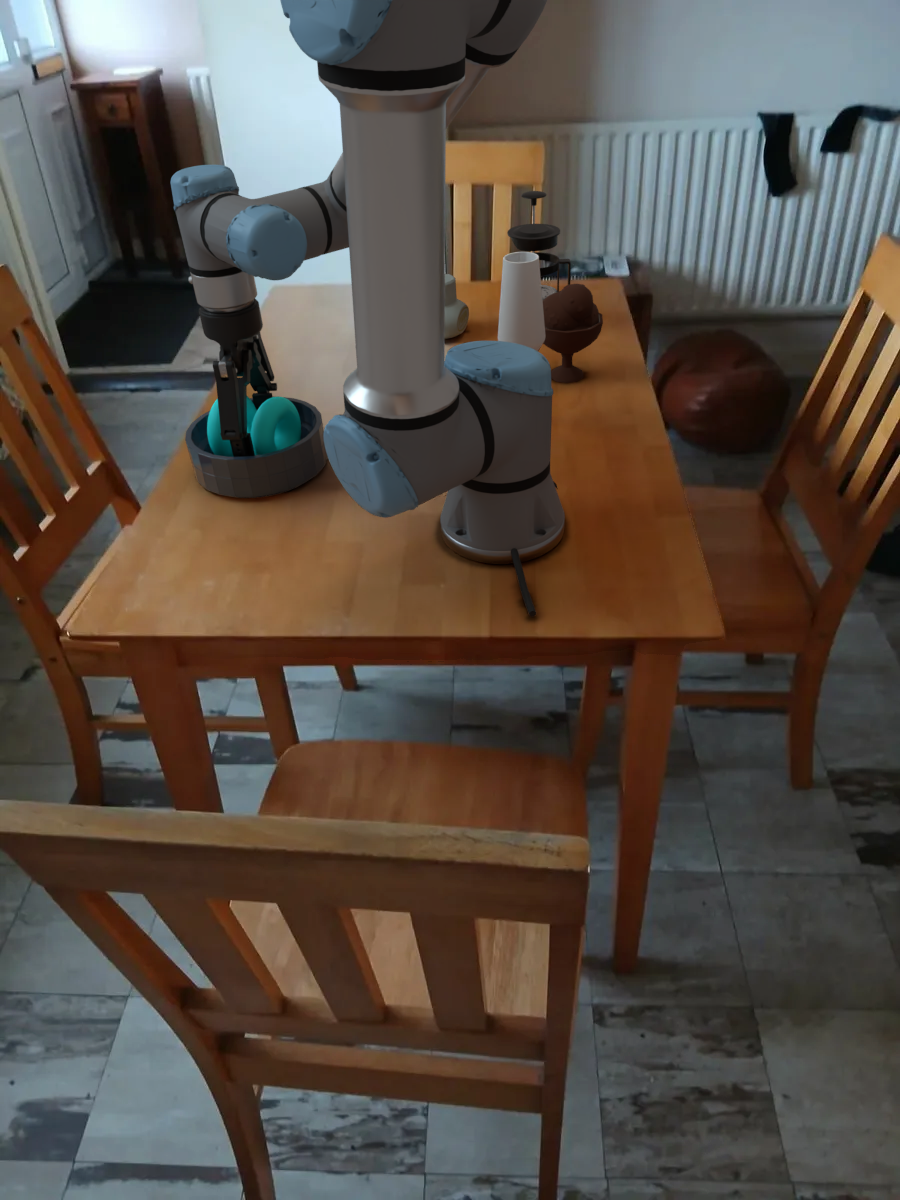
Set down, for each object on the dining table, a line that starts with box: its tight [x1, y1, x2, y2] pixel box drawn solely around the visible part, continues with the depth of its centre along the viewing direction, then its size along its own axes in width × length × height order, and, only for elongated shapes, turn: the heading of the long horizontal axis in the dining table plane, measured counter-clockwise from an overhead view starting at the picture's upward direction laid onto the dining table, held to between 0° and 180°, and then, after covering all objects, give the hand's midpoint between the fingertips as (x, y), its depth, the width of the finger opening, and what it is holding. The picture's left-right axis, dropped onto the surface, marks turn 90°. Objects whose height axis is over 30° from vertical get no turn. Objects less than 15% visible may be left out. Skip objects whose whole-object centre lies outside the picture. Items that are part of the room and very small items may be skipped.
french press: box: [506, 190, 572, 301], centre depth 155 cm, size 12×9×23 cm
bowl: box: [184, 395, 328, 499], centre depth 125 cm, size 19×19×6 cm
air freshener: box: [445, 273, 470, 340], centre depth 159 cm, size 11×8×10 cm
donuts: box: [207, 395, 301, 457], centre depth 123 cm, size 10×10×10 cm
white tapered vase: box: [497, 251, 545, 352], centre depth 126 cm, size 7×7×24 cm
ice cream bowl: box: [542, 283, 604, 384], centre depth 141 cm, size 11×11×15 cm
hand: (259, 455), depth 126 cm, fingers closed on donuts, 11 cm apart
